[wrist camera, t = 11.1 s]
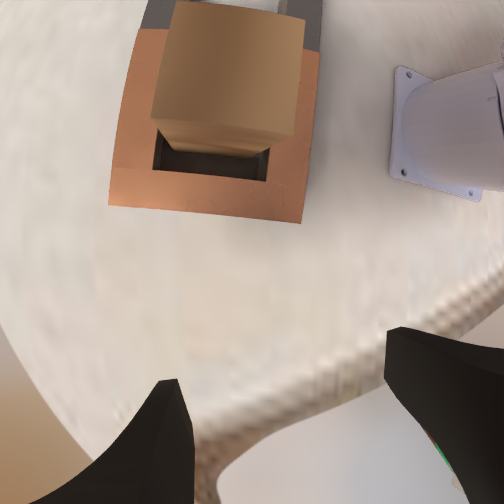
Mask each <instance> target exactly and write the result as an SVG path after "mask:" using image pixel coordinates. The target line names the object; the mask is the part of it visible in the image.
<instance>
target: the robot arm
mask: <svg viewBox="0 0 504 504" xmlns="http://www.w3.org/2000/svg"><path fill="white" fill-rule="evenodd" d="M500 53H501V55H502V57H503V59H504V40H503V46H502V47H501V49H500ZM406 73H407V74H408V75H409V78H408V77H407V75H406ZM402 169H403V171H404V175H403V176H402V174H401V170H402ZM389 173H390V175H391V176H392V177H393V178H395V179H399V180H403V181H406V182H410V183H414V184H418V185H421V186H425V187H429V188H432V189H436V190H439V191H443V192H446V193H449V194H453V195H456V196H459V197H462V198H466V199H469V200H472V201H475V202H479V201H480V200H481V198H482V190H490V191H500V192H504V60H503V61H499V62H495V63H492V64H488V65H485V66H481V67H478V68H474V69H471V70H468V71H464V72H461V73H458V74H455V75H452V76H449V77H445V78H442V79H439V80H436V81H434V80H432V79H430V78H428V77H426V76H423V75H421V74H419V73H417V72H415V71H413V70H410V69H408V68H406V67H403V66H399V67H397V68H396V69H395V90H394V115H393V131H392V144H391V156H390V166H389ZM469 191H470V194H469ZM384 379H385V380H386V382H387V384H388V385H389V387H390V389H391V390H392V392H393V393H394V394H395V396H396V398H397V399H398V400H399V401H400V402H401V404H402V405H403V406H404V407H405V408H406V409H407V410H408V412H409V413H410V414H411V415H412V416H413V417H414V418H415V419H416V421H417V422H418V423H419V424H420V425H421V426H422V427H423V428H424V430H425V431H426V432H427V433H428V434H429V435H430V436H431V438H432V439H433V440H434V441H435V443H436V444H437V446H438V447H439V449H440V450H441V452H442V453H443V455H444V456H445V458H446V459H447V461H448V463H449V464H450V466H451V468H452V470H453V471H454V473H455V475H456V476H457V478H458V480H459V482H460V484H461V486H462V488H463V490H464V492H465V494H466V496H467V499H468V501H469V503H470V504H504V349H501V348H492V347H485V346H479V345H474V344H469V343H464V342H460V341H456V340H452V339H448V338H445V337H441V336H437V335H434V334H430V333H426V332H423V331H419V330H415V329H411V328H406V327H398V328H395V329H392V330H389V331H387V340H386V356H385V369H384ZM194 470H195V446H194V436H193V427H192V422H191V419H190V416H189V413H188V411H187V408H186V405H185V402H184V399H183V395H182V392H181V389H180V386H179V383H178V380H177V379H170V380H162V381H158V383H157V384H156V386H155V387H154V388H153V390H152V391H151V393H150V394H149V396H148V397H147V399H146V400H145V402H144V403H143V405H142V406H141V408H140V409H139V410H138V412H137V413H136V415H135V416H134V417H133V419H132V420H131V422H130V423H129V424H128V425H127V427H126V428H125V429H124V430H123V432H122V433H121V434H120V435H119V437H118V438H117V439H116V440H115V441H114V442H113V443H112V445H111V446H110V447H109V448H108V449H107V450H106V451H105V452H104V453H103V454H102V455H101V456H99V457H98V458H97V459H96V460H95V461H94V462H93V463H92V464H91V465H89V466H88V467H87V468H86V469H84V470H83V471H82V472H81V473H79V474H78V475H77V476H75V477H74V478H73V479H72V480H70V481H69V482H67V483H66V484H64V485H63V486H61V487H60V488H58V489H56V490H55V491H53V492H51V493H50V494H48V495H46V496H44V497H42V498H40V499H38V500H36V501H34V502H32V503H29V504H194Z"/></svg>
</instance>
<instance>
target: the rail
mask: <svg viewBox="0 0 504 504" xmlns="http://www.w3.org/2000/svg"><path fill="white" fill-rule="evenodd" d="M176 1H190V2H191V0H148V3H147V6H146V10H145V13H144V16H143V19H142V23H141V26H140V29H139V30H138V33H137V37H136V41H135V44H134V48H133V52H132V56H131V60H130V65H129V69H128V73H127V78H126V82H125V87H124V92H123V97H122V103H121V108H120V114H119V119H118V126H117V132H116V139H115V146H114V153H113V161H112V170H111V179H110V189H109V201H108V205H112V206H125V207H138V208H150V209H162V210H173V211H184V212H195V213H206V214H216V215H226V216H235V217H245V218H254V219H263V220H272V221H281V222H289V223H298V224H301V220H302V213H303V206H304V198H305V191H306V183H307V175H308V167H309V158H310V150H311V141H312V132H313V123H314V113H315V103H316V93H317V82H318V71H319V59H320V53H319V43H320V30H321V15H322V0H280V1H279V9H278V14H282V15H286V16H291V17H295V18H299V19H303V20H305V30H304V41H303V51H302V61H301V70H300V80H299V89H298V98H297V107H296V116H295V124H294V133H293V136H291V137H289V138H287V139H285V140H283V141H281V142H279V143H277V144H275V145H273V146H271V147H269V148H267V149H265V150H264V151H262V152H260V156H259V164H258V172H257V180H256V181H255V180H247V179H239V178H231V177H222V176H213V175H203V174H193V173H182V172H171V171H159V169H160V161H161V153H162V146H163V139H164V136H163V135H162V133H161V132H160V130H159V129H158V128H157V126H156V125H155V123H154V122H153V121H152V119H151V118H150V117H151V111H152V105H153V100H154V94H155V89H156V84H157V79H158V74H159V69H160V65H161V60H162V56H163V51H164V47H165V43H166V39H167V35H168V31H169V27H170V23H171V19H172V16H173V12H174V8H175V5H176Z"/></svg>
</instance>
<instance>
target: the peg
mask: <svg viewBox="0 0 504 504" xmlns="http://www.w3.org/2000/svg"><path fill="white" fill-rule="evenodd" d="M304 30H305V20H303V19H299V18H295V17H291V16H286V15H282V14H277V13H272V12H267V11H262V10H256V9H250V8H244V7H237V6H230V5H222V4H213V3H203V2H190V1H176V5H175V8H174V12H173V16H172V19H171V23H170V27H169V31H168V35H167V39H166V43H165V47H164V51H163V56H162V60H161V65H160V69H159V74H158V79H157V84H156V89H155V94H154V100H153V105H152V111H151V117H150V118H151V119H152V121H153V122H154V123H155V125H156V126H157V128H158V129H159V130H160V132H161V133H162V135H163V136H164V137H165V139H166V140H167V142H168V143H169V144H170V146H171V147H172V148H173V150H174V151H175V152H185V153H195V154H205V155H214V156H223V157H231V158H239V159H246V160H247V159H249V158H250V157H252V156H254V155H256V154H258V153H260V152H262V151H264V150H265V149H267V148H269V147H271V146H273V145H275V144H277V143H279V142H281V141H283V140H285V139H287V138H289V137H291V136H293V133H294V124H295V116H296V107H297V98H298V89H299V80H300V70H301V61H302V51H303V41H304Z"/></svg>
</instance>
